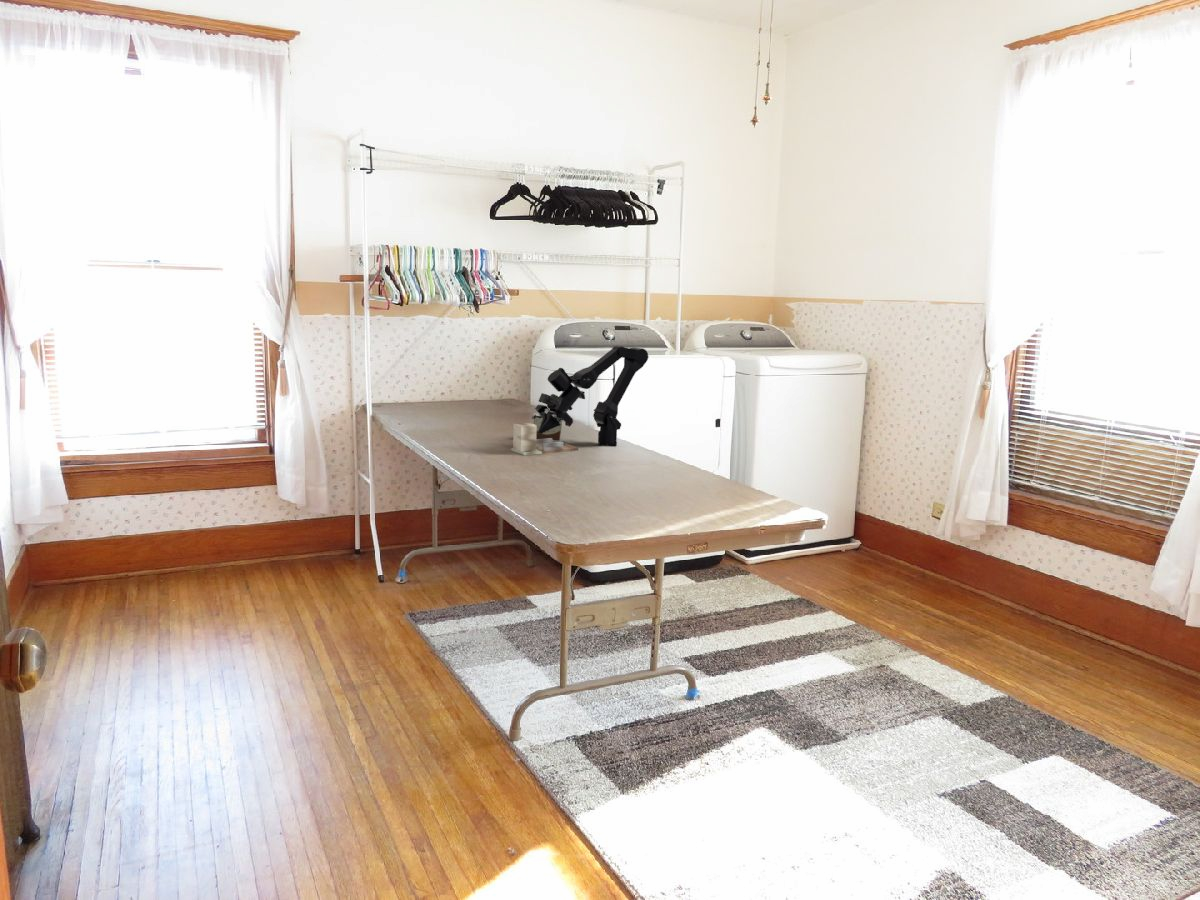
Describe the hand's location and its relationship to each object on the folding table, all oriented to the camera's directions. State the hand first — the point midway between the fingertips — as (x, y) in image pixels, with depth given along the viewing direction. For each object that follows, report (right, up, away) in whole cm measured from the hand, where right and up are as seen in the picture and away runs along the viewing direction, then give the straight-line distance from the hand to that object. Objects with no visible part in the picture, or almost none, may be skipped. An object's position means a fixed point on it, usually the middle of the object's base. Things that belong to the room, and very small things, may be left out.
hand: (539, 432), depth 308 cm
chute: (+2, -6, +3) cm, 7 cm away
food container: (+2, -2, +25) cm, 25 cm away
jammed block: (-5, -6, -2) cm, 8 cm away
